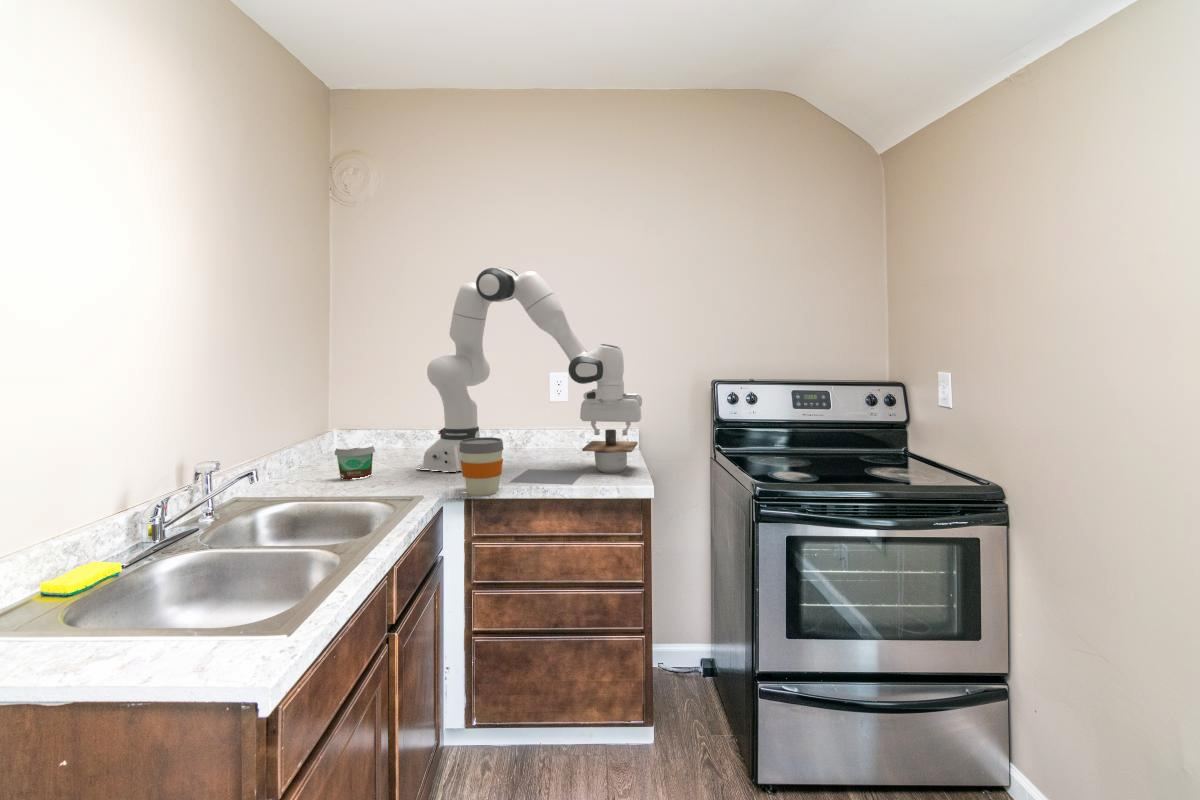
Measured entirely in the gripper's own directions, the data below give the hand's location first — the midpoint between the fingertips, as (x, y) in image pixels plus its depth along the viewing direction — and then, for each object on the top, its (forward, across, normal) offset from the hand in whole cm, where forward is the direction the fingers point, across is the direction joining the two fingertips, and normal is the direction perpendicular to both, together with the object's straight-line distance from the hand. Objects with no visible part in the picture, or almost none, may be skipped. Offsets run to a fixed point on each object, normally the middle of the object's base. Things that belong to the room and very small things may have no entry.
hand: (610, 435), depth 205 cm
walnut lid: (+4, 0, 0) cm, 4 cm away
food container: (+12, +79, +23) cm, 83 cm away
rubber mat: (+12, +18, +13) cm, 25 cm away
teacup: (+12, 0, 0) cm, 12 cm away
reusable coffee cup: (+12, +32, +34) cm, 48 cm away
